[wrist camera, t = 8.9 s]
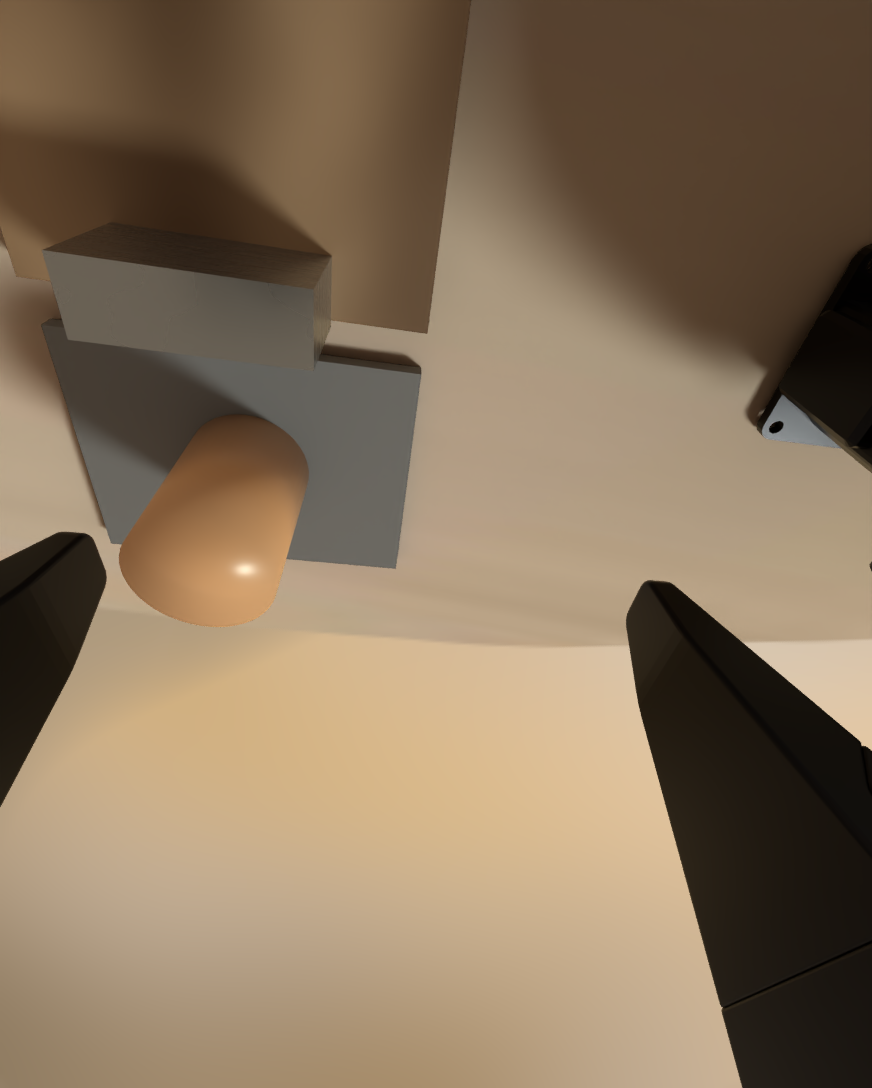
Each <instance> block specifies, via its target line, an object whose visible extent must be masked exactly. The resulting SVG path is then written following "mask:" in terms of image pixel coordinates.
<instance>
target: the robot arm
mask: <svg viewBox="0 0 872 1088" xmlns="http://www.w3.org/2000/svg"><path fill="white" fill-rule="evenodd" d="M871 259H872V244H870V245H868V246H865V247H864V248H863V249H861V250H860V251H859V252H858V253H857V254H856V255H855V257H854V258H853V259H852V261H851V263H850V265H849V266H848V268H847V270H846V271H845V273H844V275H843V277H842V278H841V280H840V282H839V283H838V285H837V287H836V289H835V290H834V292H833V294H832V295H831V297H830V299H829V301H828V302H827V304H826V306H825V307H824V309H823V311H822V313H821V314H820V316H819V317H818V319H817V321H816V322H815V324H814V326H813V328H812V329H811V331H810V333H809V334H808V336H807V338H806V340H805V341H804V343H803V345H802V346H801V348H800V350H799V352H798V353H797V355H796V357H795V358H794V360H793V362H792V364H791V365H790V367H789V369H788V370H787V372H786V374H785V376H784V377H783V379H782V381H781V382H780V384H779V386H778V388H777V390H776V392H775V393H774V395H773V397H772V398H771V400H770V402H769V404H768V405H767V407H766V409H765V410H764V412H763V414H762V416H761V417H760V419H759V421H758V423H757V430H758V431H759V433H760V434H761V435H762V436H763V437H764V438H767V439H770V440H778V441H786V442H794V443H802V444H810V445H818V446H826V447H834V448H842V449H843V450H844V451H845V452H847V453H848V454H849V455H850V456H852V457H853V458H854V459H855V460H856V461H858V462H859V463H860V464H861V465H862V466H864V467H865V468H866V469H867V470H868V471H870V472H871V473H872V267H870V268H869V269H866V268H867V265H868V263H869V262H870V261H871ZM776 421H778V422H777V424H776V425H775V426H774V427H772V428H770V426H771V425H772V424H773V423H774V422H776ZM870 568H871V571H872V562H871V564H870ZM106 578H107V576H106V570H105V568H104V565H103V563H102V560H101V557H100V555H99V552H98V550H97V547H96V544H95V542H94V540H93V538H92V537H91V536H90V535H88V534H85V533H75V532H58V533H56V534H54V535H52V536H50V537H48V538H46V539H44V540H42V541H40V542H38V543H36V544H34V545H32V546H30V547H28V548H26V549H23V550H21V551H19V552H17V553H15V554H13V555H11V556H9V557H7V558H5V559H3V560H1V561H0V807H1V805H2V803H3V801H4V799H5V797H6V795H7V793H8V792H9V790H10V788H11V786H12V784H13V782H14V780H15V778H16V776H17V775H18V773H19V771H20V769H21V767H22V765H23V763H24V761H25V759H26V758H27V756H28V754H29V752H30V750H31V748H32V746H33V744H34V742H35V740H36V739H37V737H38V735H39V733H40V731H41V729H42V727H43V725H44V723H45V722H46V720H47V718H48V716H49V714H50V712H51V710H52V708H53V706H54V705H55V702H56V701H57V699H58V697H59V695H60V693H61V691H62V689H63V687H64V685H65V684H66V682H67V680H68V678H69V676H70V674H71V671H72V670H73V667H74V665H75V663H76V660H77V658H78V655H79V653H80V650H81V648H82V645H83V643H84V640H85V638H86V635H87V632H88V630H89V627H90V625H91V622H92V619H93V617H94V614H95V612H96V609H97V607H98V604H99V601H100V599H101V596H102V594H103V591H104V588H105V585H106ZM626 628H627V634H628V641H629V647H630V654H631V660H632V667H633V673H634V680H635V687H636V693H637V698H638V704H639V708H640V712H641V717H642V720H643V724H644V727H645V731H646V735H647V739H648V742H649V746H650V750H651V753H652V757H653V761H654V764H655V768H656V771H657V775H658V779H659V782H660V786H661V790H662V794H663V797H664V801H665V805H666V808H667V812H668V816H669V819H670V823H671V827H672V830H673V833H674V838H675V841H676V845H677V848H678V852H679V856H680V860H681V863H682V867H683V871H684V874H685V878H686V882H687V885H688V889H689V893H690V896H691V900H692V903H693V907H694V911H695V914H696V918H697V922H698V925H699V929H700V933H701V936H702V940H703V944H704V947H705V951H706V954H707V958H708V962H709V965H710V969H711V973H712V977H713V980H714V984H715V987H716V991H717V995H718V999H719V1002H720V1005H721V1007H723V1008H722V1015H723V1018H724V1022H725V1025H726V1029H727V1033H728V1037H729V1040H730V1044H731V1048H732V1051H733V1055H734V1059H735V1062H736V1066H737V1070H738V1073H739V1077H740V1080H741V1084H742V1088H872V751H871V750H870V749H869V748H868V747H866V746H861V742H860V741H859V740H858V739H857V738H855V737H854V736H853V735H852V734H851V733H850V732H848V731H847V730H846V729H845V728H843V727H842V726H841V725H840V724H839V723H838V722H836V721H835V720H834V719H833V718H832V717H830V716H829V715H828V714H827V713H826V712H824V711H823V710H822V709H821V708H820V707H819V706H817V705H816V704H815V703H814V702H813V701H811V700H810V699H809V698H808V697H807V696H805V695H804V694H803V693H802V692H801V691H800V690H798V689H797V688H796V687H795V686H793V685H792V684H791V683H790V682H789V681H788V680H786V679H785V678H784V677H783V676H782V675H781V674H779V673H778V672H777V671H776V670H775V669H773V668H772V667H771V666H770V665H769V664H767V663H766V662H765V661H764V660H762V659H761V658H760V657H759V656H758V655H757V654H755V653H754V652H753V651H752V650H751V649H750V648H748V647H747V646H746V645H745V644H744V643H742V642H741V641H740V640H739V639H738V638H736V637H735V636H734V635H733V634H732V633H731V632H729V631H728V630H727V629H726V628H725V627H723V626H722V625H721V624H720V623H719V622H717V621H716V620H715V619H714V618H713V617H712V616H710V615H709V614H708V613H707V612H706V611H704V610H703V609H702V608H701V607H700V606H698V605H697V604H696V603H695V602H694V601H692V600H691V599H690V598H689V597H688V596H687V595H685V594H684V593H683V592H682V591H681V590H679V589H678V588H677V587H676V586H675V585H673V584H672V583H670V582H665V581H653V580H648V581H645V582H644V583H643V584H642V586H641V587H640V589H639V591H638V593H637V595H636V597H635V599H634V601H633V603H632V605H631V607H630V609H629V611H628V613H627V618H626Z"/></svg>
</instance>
